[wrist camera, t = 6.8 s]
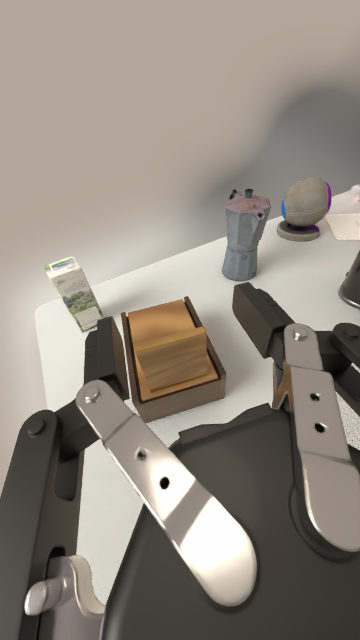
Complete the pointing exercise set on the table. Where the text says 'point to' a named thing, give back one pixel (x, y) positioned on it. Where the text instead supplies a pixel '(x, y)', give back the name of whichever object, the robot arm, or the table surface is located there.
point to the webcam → (304, 209)
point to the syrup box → (75, 292)
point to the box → (175, 399)
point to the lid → (168, 350)
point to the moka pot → (244, 233)
